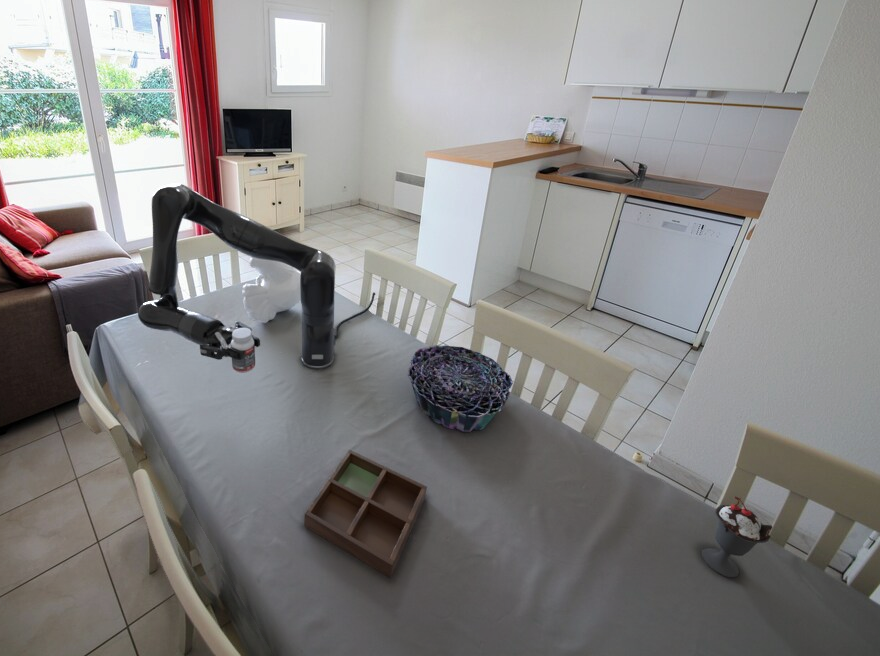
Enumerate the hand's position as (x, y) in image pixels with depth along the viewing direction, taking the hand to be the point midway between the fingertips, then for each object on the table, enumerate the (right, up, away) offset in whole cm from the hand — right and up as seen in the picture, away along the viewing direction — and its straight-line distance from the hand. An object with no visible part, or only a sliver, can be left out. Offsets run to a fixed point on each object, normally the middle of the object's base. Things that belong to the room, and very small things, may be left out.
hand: (250, 349), depth 104 cm
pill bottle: (-2, -5, +4) cm, 7 cm away
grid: (+26, -27, -21) cm, 43 cm away
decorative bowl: (+52, -16, +8) cm, 55 cm away
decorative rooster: (-2, +3, +49) cm, 49 cm away
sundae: (+88, -31, -29) cm, 97 cm away
